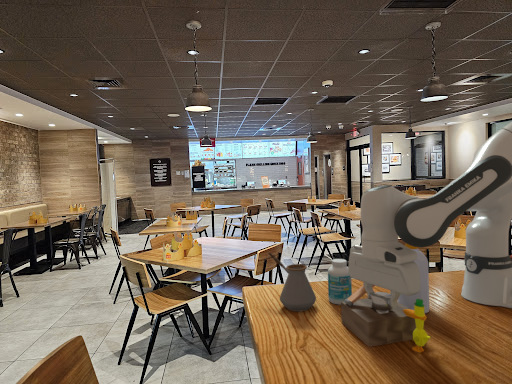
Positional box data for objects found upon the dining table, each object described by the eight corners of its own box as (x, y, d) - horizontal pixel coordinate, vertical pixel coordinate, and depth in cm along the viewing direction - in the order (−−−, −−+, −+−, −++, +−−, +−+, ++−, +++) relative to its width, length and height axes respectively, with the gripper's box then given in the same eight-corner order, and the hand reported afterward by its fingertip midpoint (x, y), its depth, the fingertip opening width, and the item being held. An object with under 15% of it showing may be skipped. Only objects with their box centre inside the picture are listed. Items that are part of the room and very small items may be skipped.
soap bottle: (389, 308, 104) (387, 230, 103) (410, 301, 108) (408, 226, 107) (414, 317, 97) (412, 233, 95) (436, 310, 101) (434, 230, 100)
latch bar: (374, 279, 95) (372, 276, 95) (380, 282, 93) (377, 279, 93) (345, 303, 94) (343, 300, 93) (350, 307, 91) (348, 303, 91)
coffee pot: (324, 307, 107) (322, 260, 106) (295, 317, 101) (293, 266, 100) (283, 290, 125) (281, 249, 124) (256, 297, 119) (254, 254, 118)
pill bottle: (328, 305, 109) (326, 263, 108) (329, 297, 116) (327, 257, 115) (352, 306, 107) (351, 263, 106) (351, 297, 114) (350, 257, 114)
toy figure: (399, 346, 81) (398, 296, 81) (409, 341, 83) (407, 293, 83) (426, 358, 76) (425, 304, 75) (436, 353, 77) (434, 301, 77)
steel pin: (392, 322, 90) (391, 292, 90) (394, 331, 85) (393, 299, 85) (371, 321, 91) (370, 291, 91) (372, 329, 86) (371, 298, 86)
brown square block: (386, 316, 98) (386, 295, 98) (420, 338, 85) (419, 314, 84) (341, 323, 95) (341, 301, 95) (368, 346, 82) (368, 322, 81)
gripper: (341, 245, 95) (343, 294, 95) (405, 258, 77) (407, 319, 77) (358, 242, 98) (360, 289, 98) (423, 254, 80) (425, 312, 81)
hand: (381, 303), depth 88 cm, fingers closed on steel pin, 5 cm apart
